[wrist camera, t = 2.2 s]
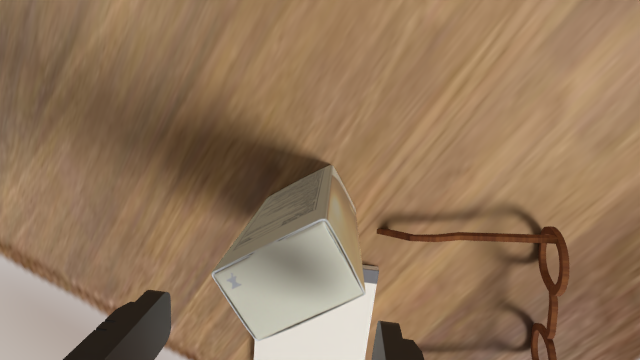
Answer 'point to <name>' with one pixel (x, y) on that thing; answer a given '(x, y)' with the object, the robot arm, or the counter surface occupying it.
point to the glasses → (554, 290)
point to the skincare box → (294, 257)
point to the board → (327, 331)
